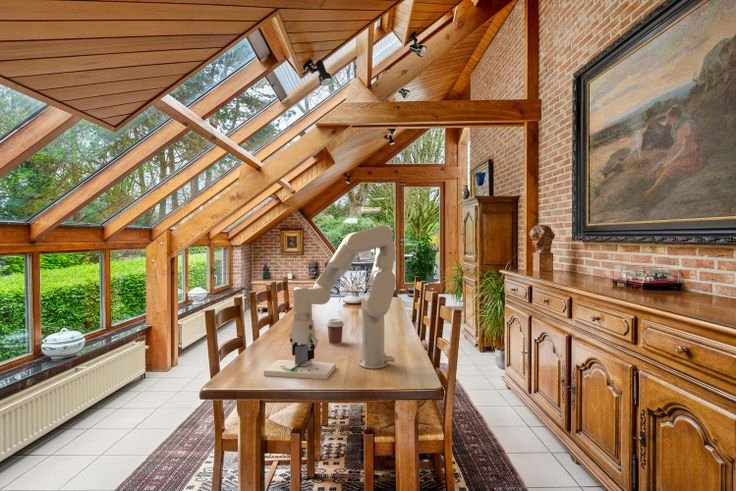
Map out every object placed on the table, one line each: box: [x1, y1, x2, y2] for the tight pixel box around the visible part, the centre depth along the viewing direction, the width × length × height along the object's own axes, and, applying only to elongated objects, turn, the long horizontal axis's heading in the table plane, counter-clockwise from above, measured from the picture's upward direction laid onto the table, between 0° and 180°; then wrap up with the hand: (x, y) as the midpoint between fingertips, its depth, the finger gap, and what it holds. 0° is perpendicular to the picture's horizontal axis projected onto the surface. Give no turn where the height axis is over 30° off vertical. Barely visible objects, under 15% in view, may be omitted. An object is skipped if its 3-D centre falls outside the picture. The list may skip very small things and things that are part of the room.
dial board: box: [263, 359, 337, 380], centre depth 166 cm, size 26×14×2 cm, turn 80°
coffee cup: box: [325, 318, 345, 346], centre depth 209 cm, size 9×9×12 cm
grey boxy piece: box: [291, 344, 313, 371], centre depth 167 cm, size 14×7×8 cm, turn 161°
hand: (303, 356), depth 169 cm, fingers open, 9 cm apart
